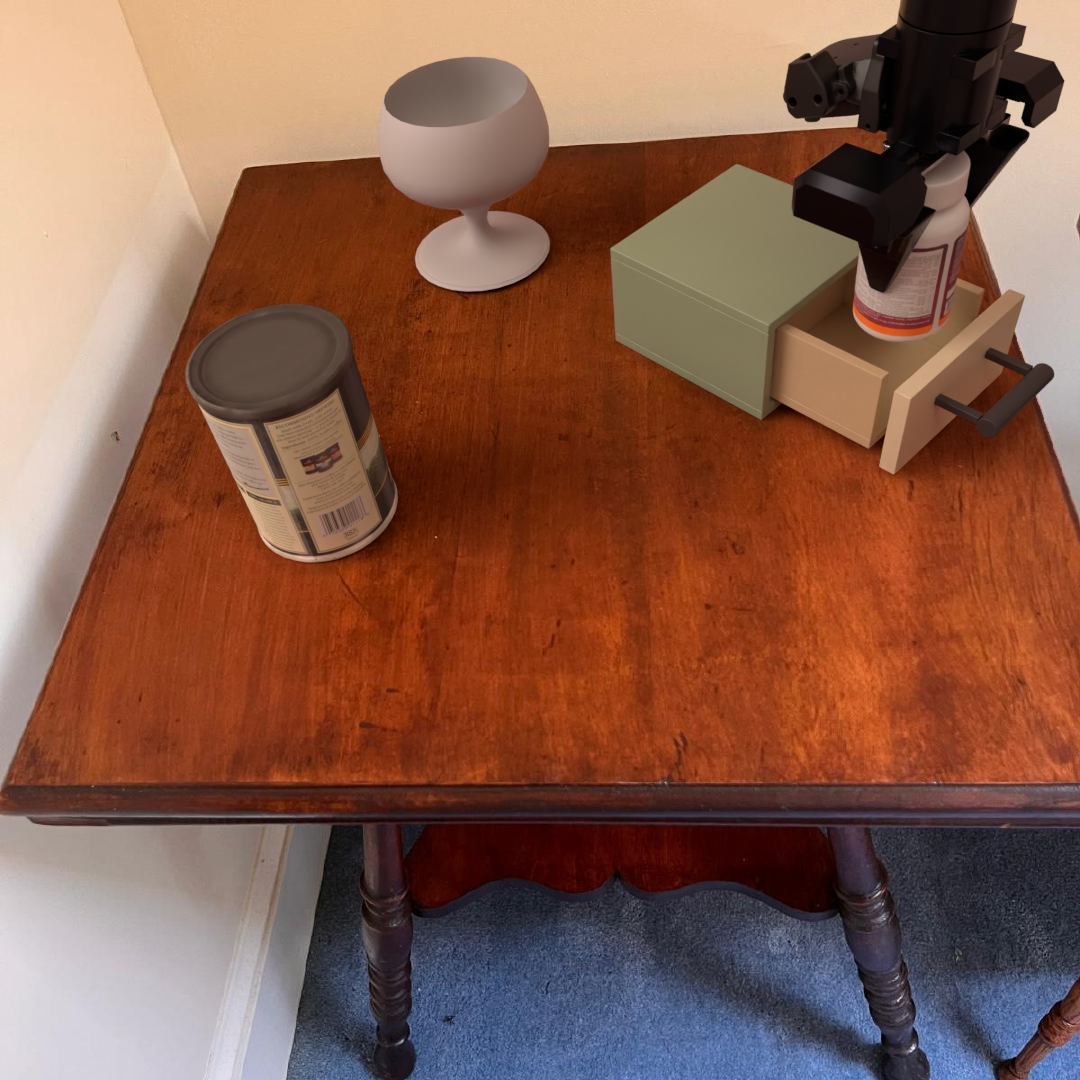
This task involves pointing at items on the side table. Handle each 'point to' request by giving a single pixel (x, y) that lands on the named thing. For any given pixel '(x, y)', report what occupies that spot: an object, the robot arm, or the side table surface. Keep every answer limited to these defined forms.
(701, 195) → the cabinet
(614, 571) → the side table surface
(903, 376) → the drawer
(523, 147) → the chalice
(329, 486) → the coffee can
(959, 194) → the pill bottle
